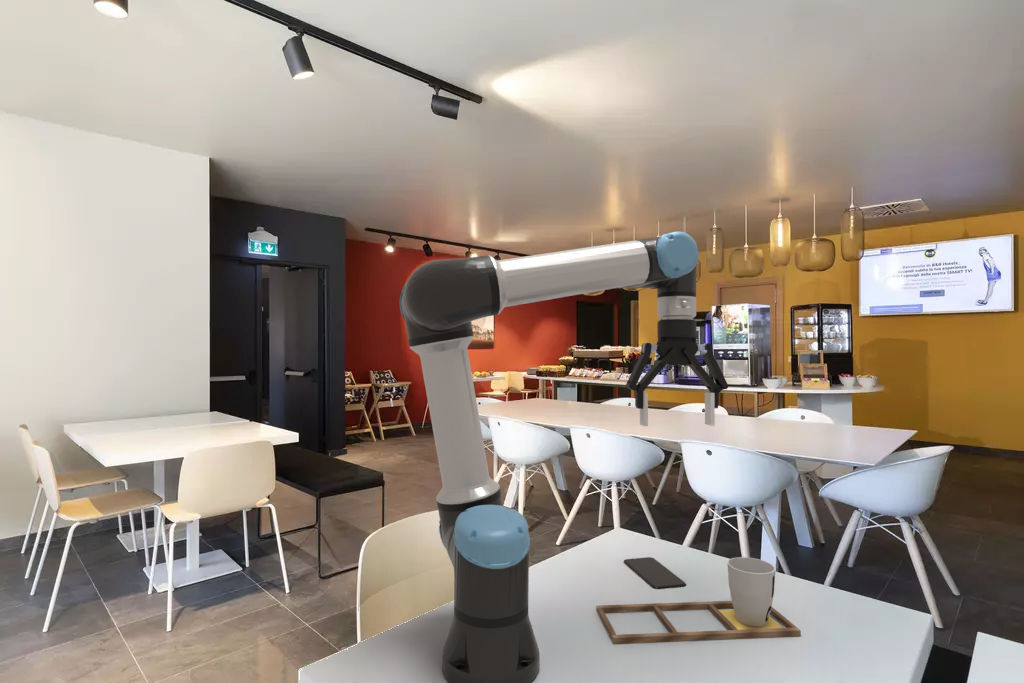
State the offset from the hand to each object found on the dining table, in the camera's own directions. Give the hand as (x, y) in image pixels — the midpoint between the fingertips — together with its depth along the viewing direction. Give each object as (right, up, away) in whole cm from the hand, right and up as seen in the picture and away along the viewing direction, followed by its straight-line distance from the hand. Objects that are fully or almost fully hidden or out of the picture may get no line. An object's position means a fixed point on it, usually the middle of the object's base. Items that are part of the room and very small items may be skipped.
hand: (676, 425), depth 110 cm
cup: (+11, -35, -9) cm, 37 cm away
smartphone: (-1, -36, +13) cm, 38 cm away
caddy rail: (0, -35, -10) cm, 36 cm away
